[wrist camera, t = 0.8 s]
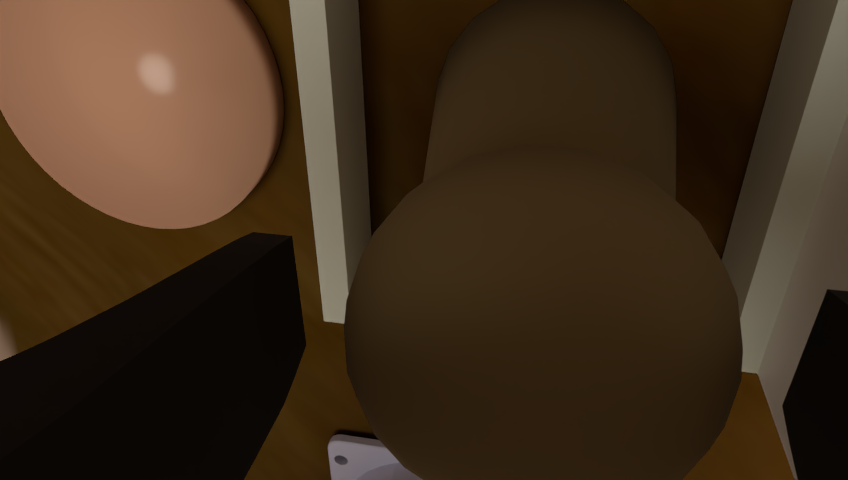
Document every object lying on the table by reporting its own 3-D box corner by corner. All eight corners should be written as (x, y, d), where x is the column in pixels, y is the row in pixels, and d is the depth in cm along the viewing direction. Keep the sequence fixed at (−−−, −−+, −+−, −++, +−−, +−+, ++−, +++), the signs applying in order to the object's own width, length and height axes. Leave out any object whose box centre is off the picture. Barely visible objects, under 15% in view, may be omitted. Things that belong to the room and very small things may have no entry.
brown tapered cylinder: (419, 183, 19) (268, 517, 9) (460, -40, 15) (288, 131, 6) (629, 233, 18) (688, 637, 9) (717, 13, 15) (952, 288, 6)
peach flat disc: (299, 224, 20) (287, 241, 19) (58, 201, 22) (37, 216, 21) (262, -77, 16) (245, -72, 15) (-37, -81, 17) (-68, -77, 16)
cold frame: (758, 316, 19) (885, 637, 11) (349, 272, 21) (220, 518, 13) (914, -159, 13) (1422, -166, 5) (315, -154, 15) (42, -154, 7)
